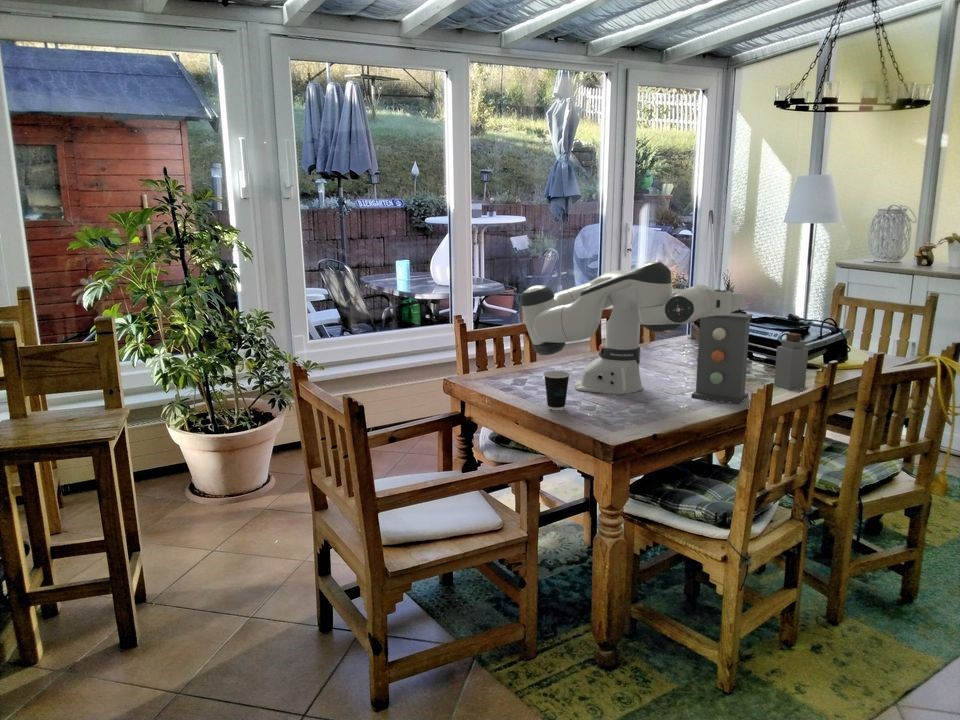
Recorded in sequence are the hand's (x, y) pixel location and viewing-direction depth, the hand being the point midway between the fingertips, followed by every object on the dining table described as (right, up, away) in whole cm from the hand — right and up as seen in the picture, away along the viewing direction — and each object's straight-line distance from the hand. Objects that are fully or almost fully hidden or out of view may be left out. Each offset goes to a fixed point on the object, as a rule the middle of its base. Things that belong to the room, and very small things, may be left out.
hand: (713, 295), depth 211 cm
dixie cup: (-44, -34, +14) cm, 57 cm away
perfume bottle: (+36, -28, +34) cm, 57 cm away
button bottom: (+7, -26, +18) cm, 33 cm away
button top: (+7, -12, +15) cm, 21 cm away
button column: (+9, -31, +23) cm, 40 cm away
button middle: (+7, -19, +17) cm, 26 cm away
